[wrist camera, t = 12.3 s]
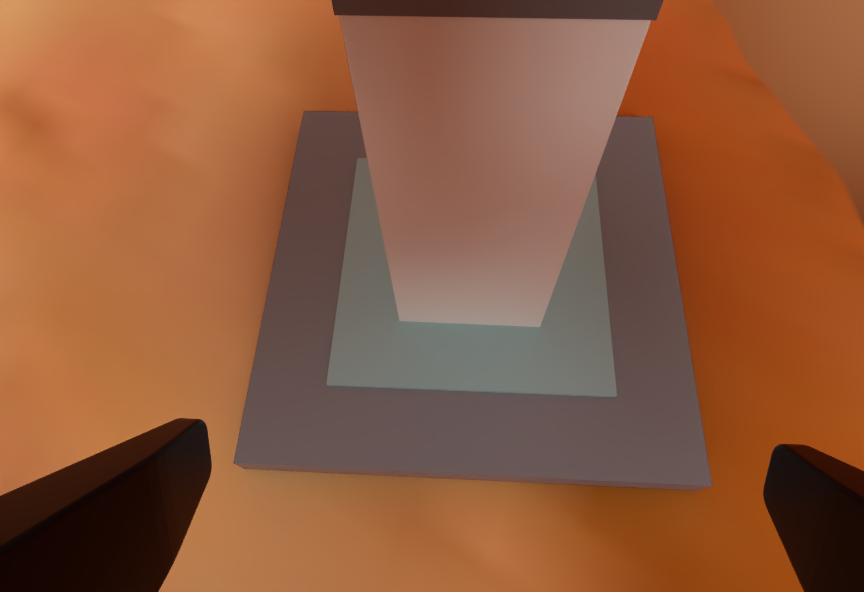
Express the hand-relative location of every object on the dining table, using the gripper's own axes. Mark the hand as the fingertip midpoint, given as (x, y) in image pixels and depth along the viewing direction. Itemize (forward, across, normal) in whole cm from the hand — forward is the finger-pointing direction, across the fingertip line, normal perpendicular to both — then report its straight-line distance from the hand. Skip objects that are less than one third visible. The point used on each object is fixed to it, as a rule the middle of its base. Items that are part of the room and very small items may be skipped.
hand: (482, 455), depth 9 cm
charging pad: (+12, 0, +1) cm, 12 cm away
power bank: (+11, 0, 0) cm, 11 cm away
